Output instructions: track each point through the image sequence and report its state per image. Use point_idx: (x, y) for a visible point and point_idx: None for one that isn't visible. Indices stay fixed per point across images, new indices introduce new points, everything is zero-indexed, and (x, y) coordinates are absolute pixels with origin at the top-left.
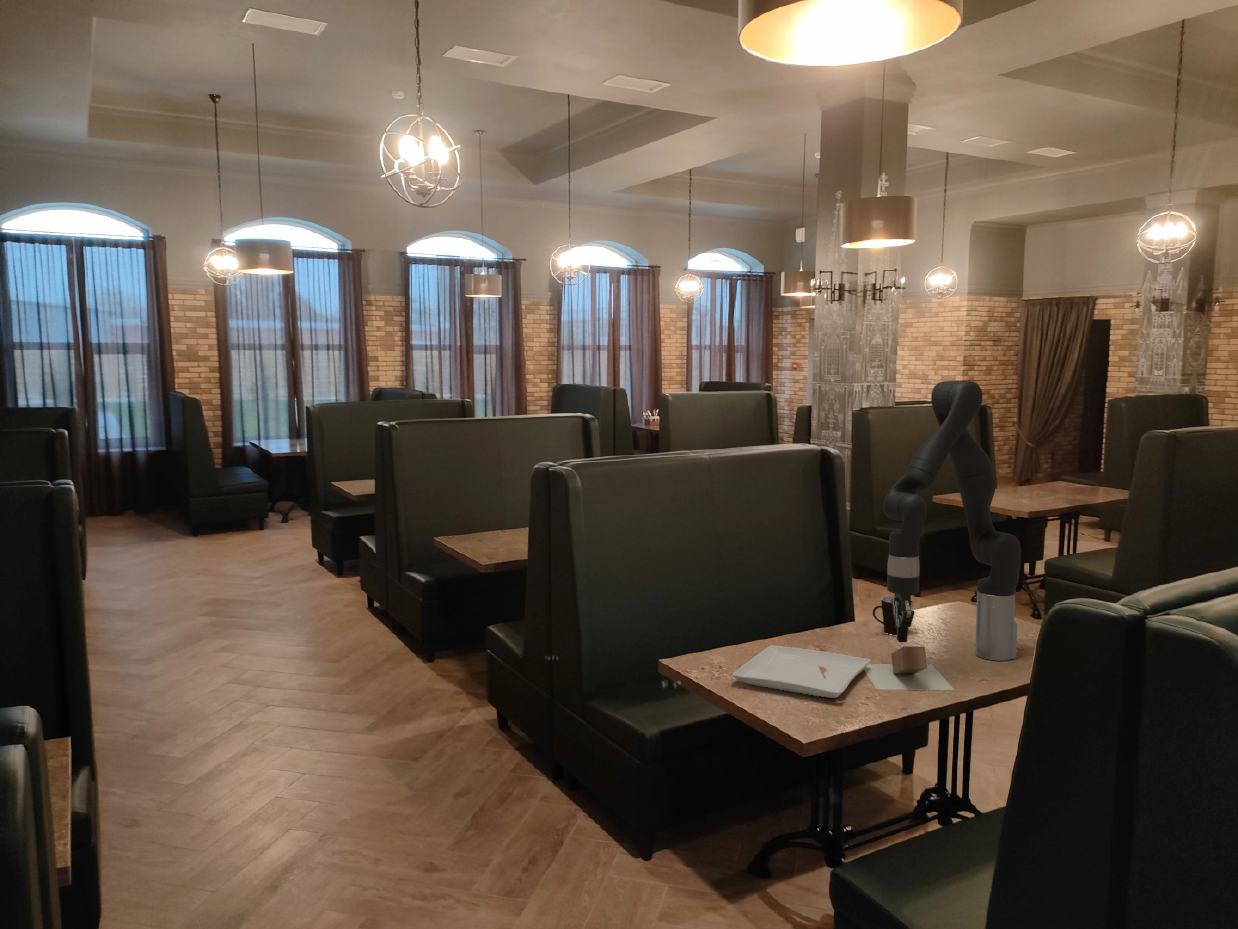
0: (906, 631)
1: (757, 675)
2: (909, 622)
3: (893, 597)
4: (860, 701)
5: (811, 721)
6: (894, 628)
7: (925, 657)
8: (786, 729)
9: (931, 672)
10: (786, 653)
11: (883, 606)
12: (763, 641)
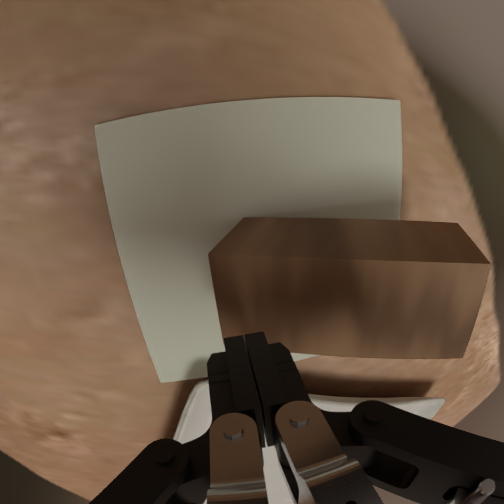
0: (278, 383)
1: (287, 496)
2: (420, 434)
3: None
4: None
5: (463, 398)
6: None
7: (471, 242)
8: (470, 411)
9: (207, 136)
10: None
11: None
12: (68, 490)
